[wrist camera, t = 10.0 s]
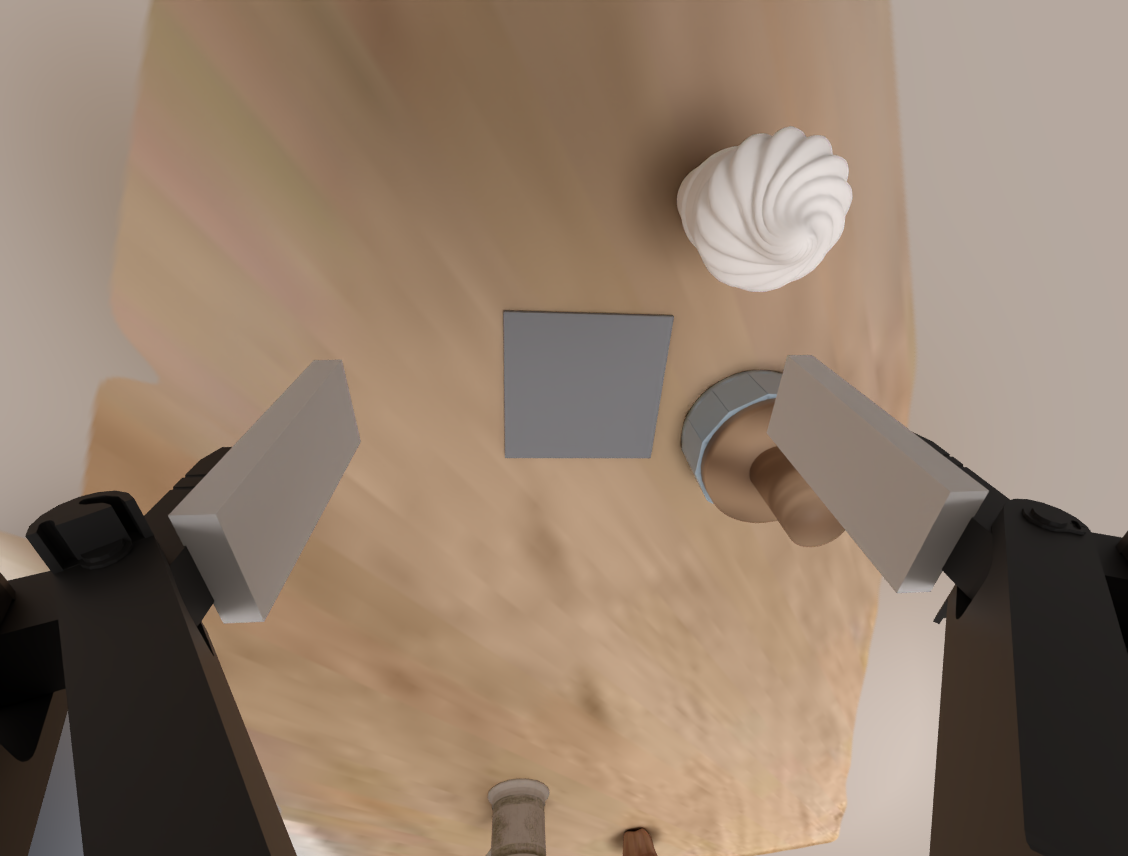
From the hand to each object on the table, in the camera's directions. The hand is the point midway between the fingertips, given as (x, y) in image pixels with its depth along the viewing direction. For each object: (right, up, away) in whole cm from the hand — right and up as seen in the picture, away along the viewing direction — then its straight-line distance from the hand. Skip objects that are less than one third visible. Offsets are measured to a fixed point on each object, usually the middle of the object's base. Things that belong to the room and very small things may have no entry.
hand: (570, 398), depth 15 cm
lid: (+18, -4, +28) cm, 33 cm away
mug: (-9, -61, +65) cm, 90 cm away
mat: (+2, +3, +29) cm, 29 cm away
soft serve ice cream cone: (+10, +16, +22) cm, 29 cm away
